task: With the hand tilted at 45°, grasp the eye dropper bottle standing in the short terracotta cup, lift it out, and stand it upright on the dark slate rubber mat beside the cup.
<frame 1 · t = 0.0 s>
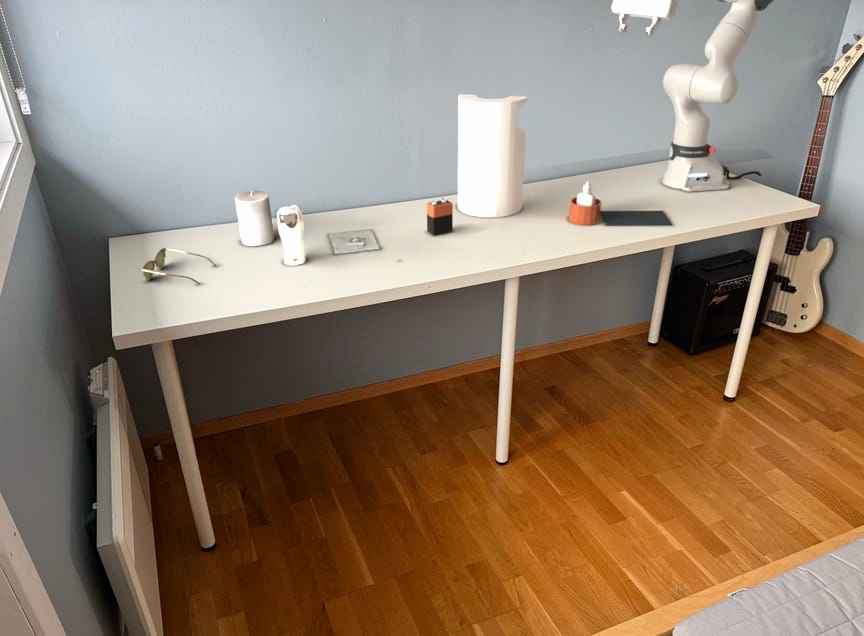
hand: (635, 33, 208), 52 cm above the table, tool tilted 20°, fingers open, 8 cm apart
pillar candle: (258, 241, 214), on the table
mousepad: (363, 247, 209), on the table
cup: (584, 219, 225), on the table
eye dropper bottle: (584, 219, 225), resting on cup
white curved half cylinder: (487, 211, 233), on the table
white handheld device: (295, 261, 201), on the table
sunglasses: (182, 275, 194), on the table
battery: (439, 232, 218), on the table
mat: (634, 218, 225), on the table
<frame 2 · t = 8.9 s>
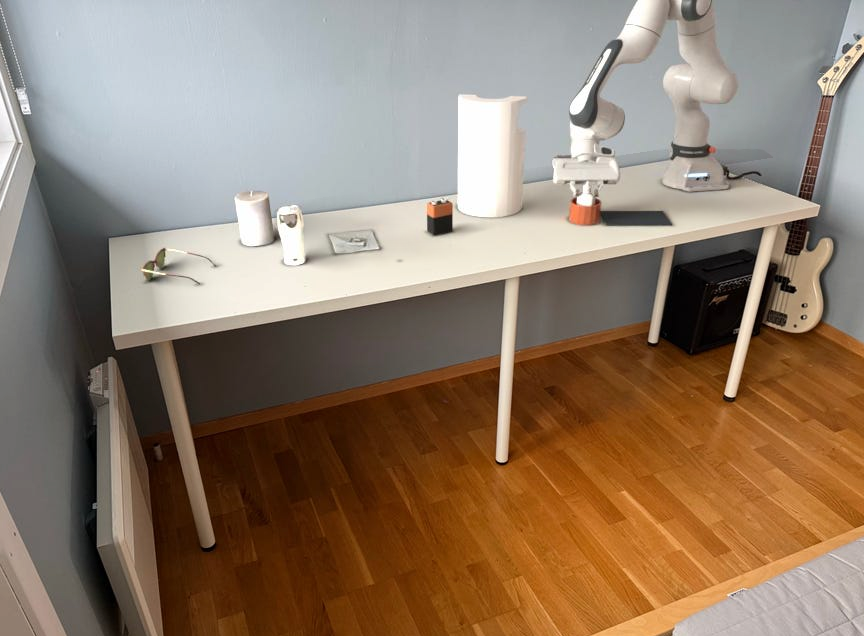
hand: (587, 196, 220), 8 cm above the table, tool tilted 45°, fingers closed on eye dropper bottle, 5 cm apart
eye dropper bottle: (584, 219, 225), resting on cup, touching gripper
everything else where it was.
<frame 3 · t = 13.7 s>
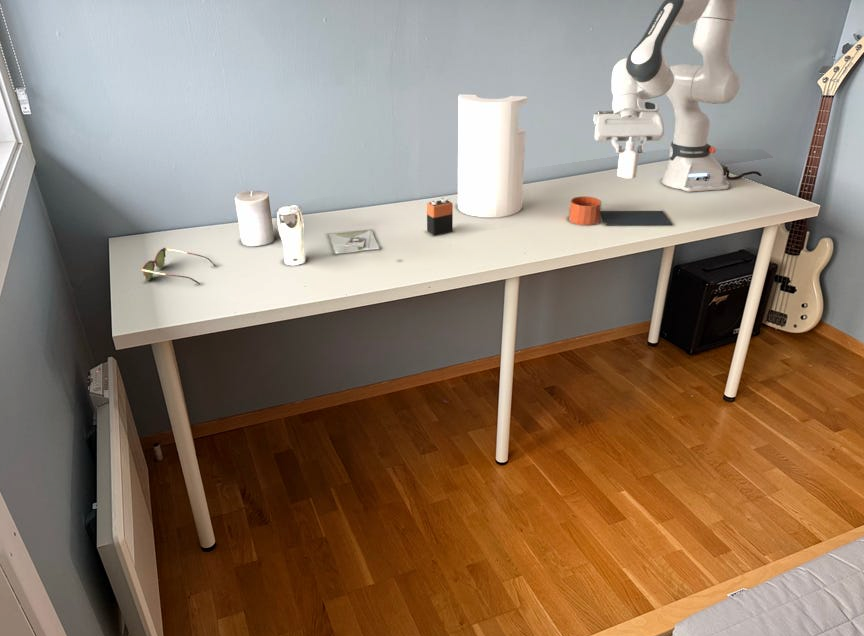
hand: (629, 152, 214), 21 cm above the table, tool tilted 45°, fingers closed on eye dropper bottle, 5 cm apart
eye dropper bottle: (626, 177, 219), point 13 cm above the table, touching gripper
everything else where it was.
when the fingers open (8 cm above the table, at t = 18.3 s): eye dropper bottle stays where it is, resting on mat.
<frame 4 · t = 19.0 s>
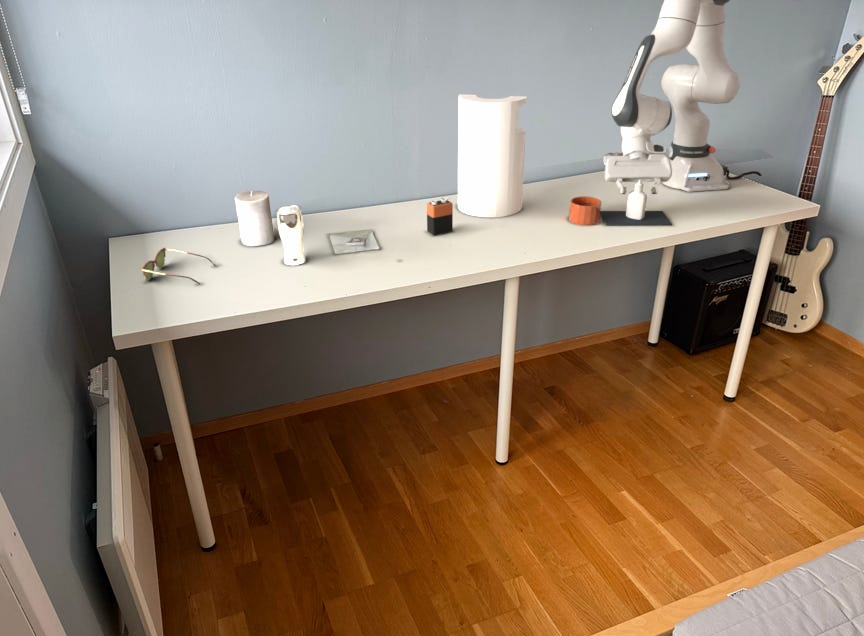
hand: (639, 193, 221), 8 cm above the table, tool tilted 45°, fingers open, 8 cm apart
eye dropper bottle: (634, 217, 225), resting on mat
everything else where it was.
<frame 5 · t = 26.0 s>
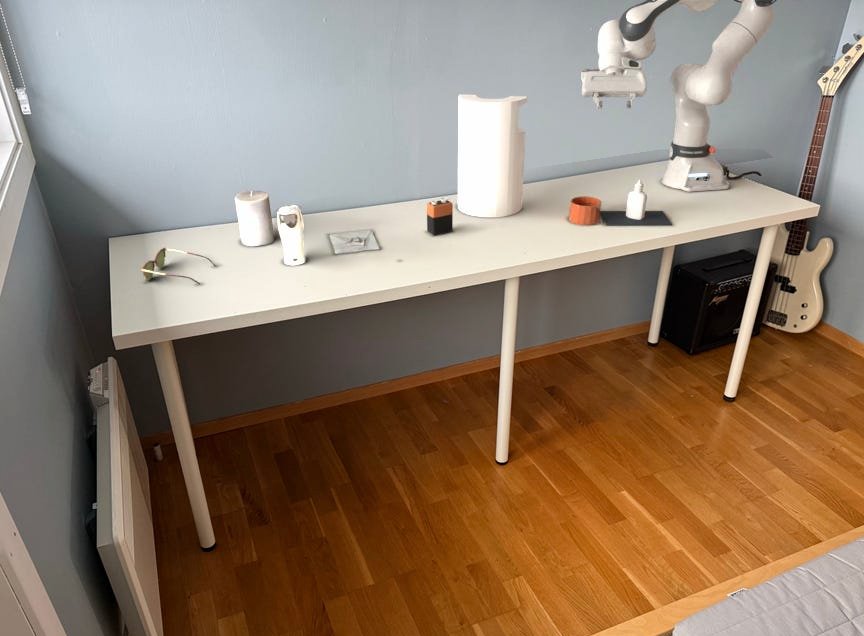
hand: (614, 107, 228), 29 cm above the table, tool tilted 45°, fingers open, 8 cm apart
nothing on the table moved.
at the end: eye dropper bottle inside the target area on the mat (0.1 cm from its centre), point 0.2 cm above the mat's base; eye dropper bottle tilted 0°; the gripper is holding nothing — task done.
